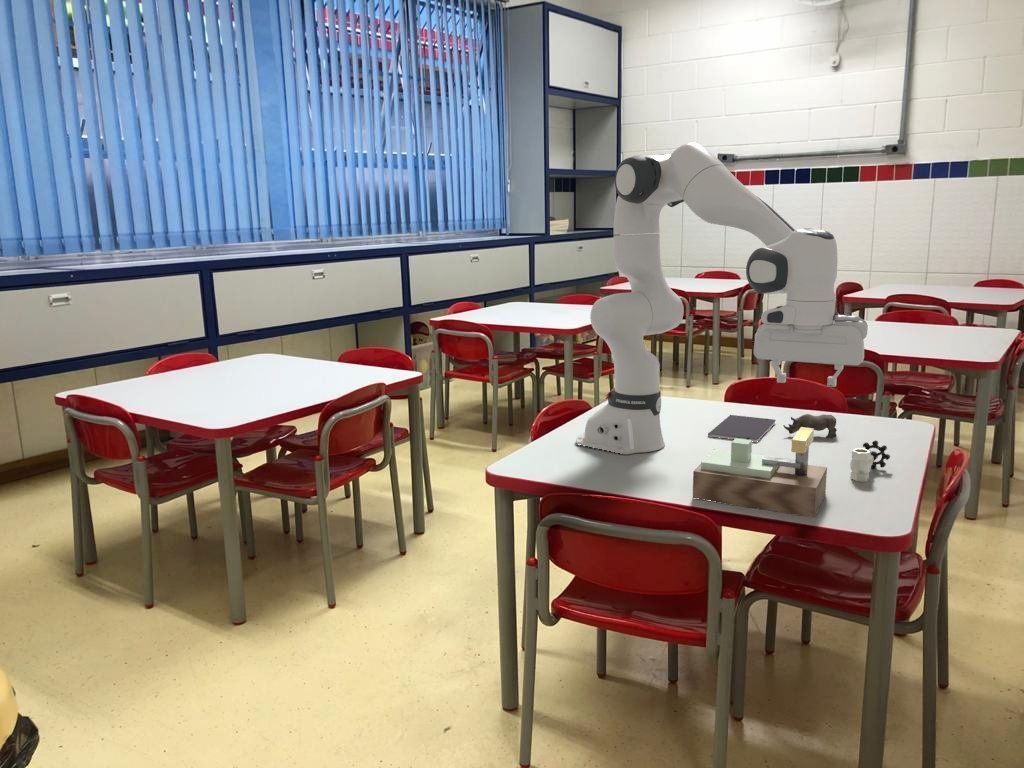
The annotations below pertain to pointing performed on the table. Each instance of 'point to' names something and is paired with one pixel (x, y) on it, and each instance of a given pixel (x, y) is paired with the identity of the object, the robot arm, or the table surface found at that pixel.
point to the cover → (738, 460)
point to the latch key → (800, 447)
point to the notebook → (742, 428)
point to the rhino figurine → (814, 424)
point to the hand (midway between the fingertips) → (806, 384)
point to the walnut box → (765, 489)
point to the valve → (866, 461)
